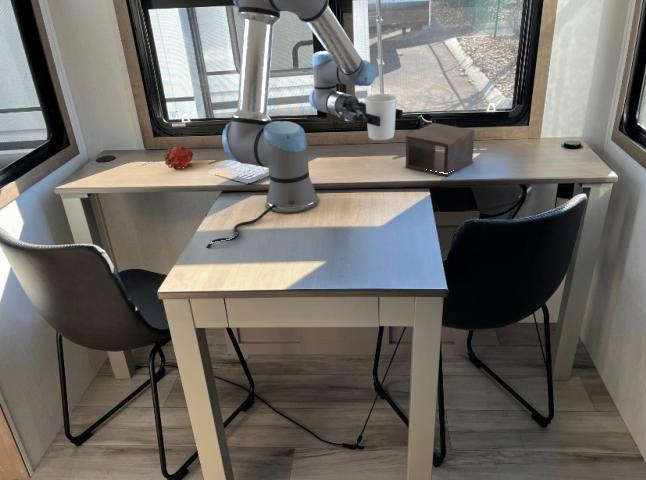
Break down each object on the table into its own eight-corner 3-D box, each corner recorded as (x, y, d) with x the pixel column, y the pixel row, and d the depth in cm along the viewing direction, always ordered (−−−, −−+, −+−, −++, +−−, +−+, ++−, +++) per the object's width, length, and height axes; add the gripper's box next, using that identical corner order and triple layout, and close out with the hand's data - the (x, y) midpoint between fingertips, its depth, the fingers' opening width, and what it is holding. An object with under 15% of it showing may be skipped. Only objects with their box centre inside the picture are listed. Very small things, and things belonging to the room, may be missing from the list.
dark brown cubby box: (446, 177, 189) (448, 144, 183) (405, 167, 198) (405, 135, 192) (472, 162, 199) (474, 130, 193) (432, 153, 208) (433, 122, 202)
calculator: (249, 185, 193) (248, 180, 192) (208, 174, 204) (207, 169, 203) (277, 172, 201) (276, 167, 200) (236, 162, 212) (235, 157, 211)
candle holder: (396, 131, 192) (396, 93, 186) (396, 140, 184) (396, 101, 178) (366, 131, 193) (365, 94, 187) (365, 141, 185) (364, 102, 179)
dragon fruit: (165, 177, 208) (193, 171, 217) (175, 166, 202) (204, 160, 211) (154, 154, 208) (183, 149, 216) (165, 143, 202) (193, 139, 210)
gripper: (368, 110, 205) (415, 122, 189) (319, 124, 194) (364, 138, 179) (367, 87, 201) (415, 98, 185) (317, 100, 190) (363, 113, 175)
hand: (390, 118), depth 182 cm, fingers closed on candle holder, 9 cm apart
